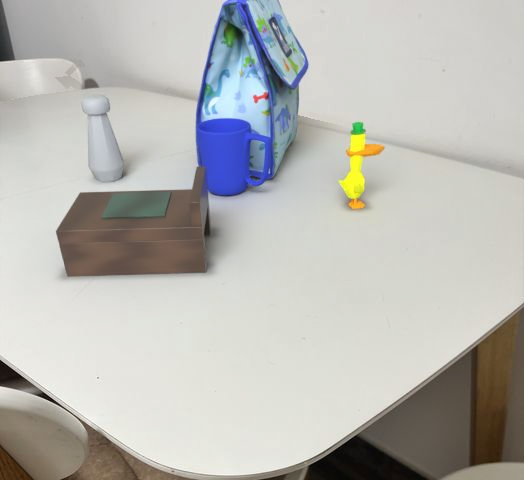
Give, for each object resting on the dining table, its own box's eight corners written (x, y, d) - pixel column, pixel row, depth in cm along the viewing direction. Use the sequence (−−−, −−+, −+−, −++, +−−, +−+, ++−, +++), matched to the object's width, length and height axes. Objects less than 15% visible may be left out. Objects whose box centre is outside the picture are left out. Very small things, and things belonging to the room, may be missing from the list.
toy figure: (373, 198, 87) (381, 116, 80) (383, 207, 84) (392, 123, 77) (331, 204, 86) (336, 121, 78) (341, 213, 83) (346, 128, 76)
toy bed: (67, 276, 70) (49, 206, 64) (89, 233, 79) (74, 169, 74) (206, 272, 70) (199, 202, 64) (211, 230, 79) (205, 166, 74)
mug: (257, 207, 85) (256, 139, 79) (191, 194, 90) (185, 129, 84) (283, 189, 91) (283, 124, 85) (219, 177, 96) (215, 115, 90)
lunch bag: (290, 182, 93) (292, -4, 78) (193, 177, 96) (176, -4, 80) (309, 141, 110) (313, -18, 95) (226, 138, 113) (217, -17, 98)
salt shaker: (102, 186, 93) (86, 102, 86) (85, 178, 97) (68, 96, 89) (132, 177, 97) (119, 96, 89) (115, 169, 100) (101, 90, 92)
